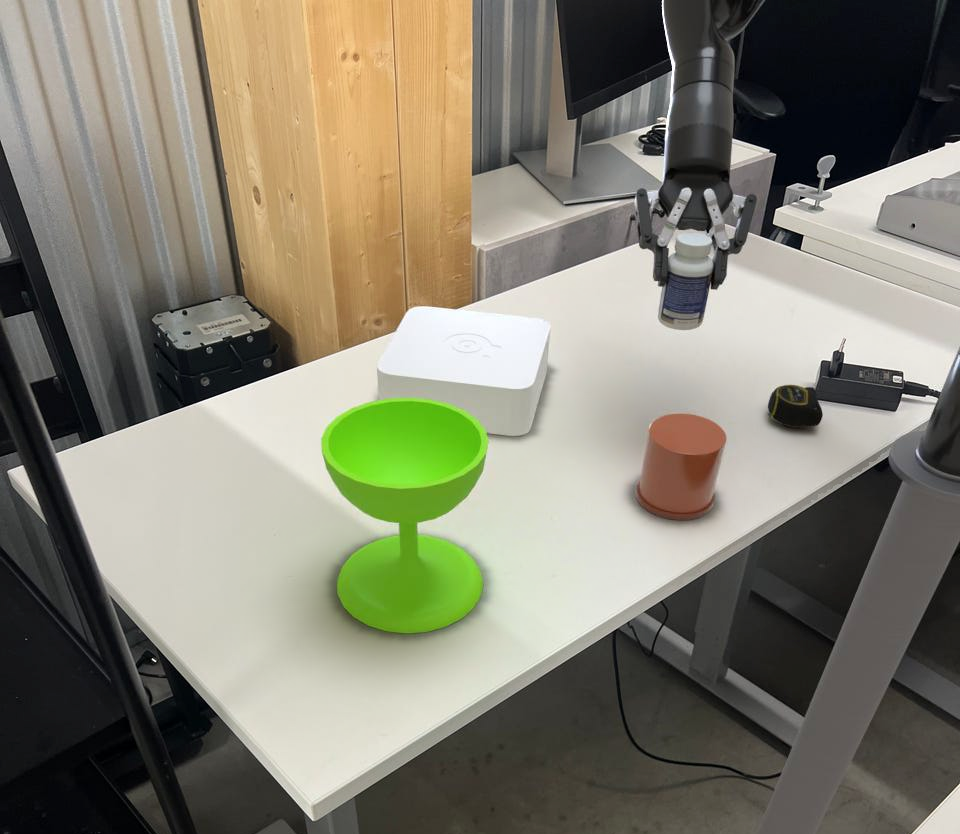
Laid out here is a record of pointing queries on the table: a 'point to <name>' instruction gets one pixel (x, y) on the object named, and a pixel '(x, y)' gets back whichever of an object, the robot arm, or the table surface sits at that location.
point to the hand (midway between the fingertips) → (689, 284)
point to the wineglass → (407, 509)
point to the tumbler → (680, 466)
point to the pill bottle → (687, 282)
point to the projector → (469, 364)
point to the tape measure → (795, 406)
